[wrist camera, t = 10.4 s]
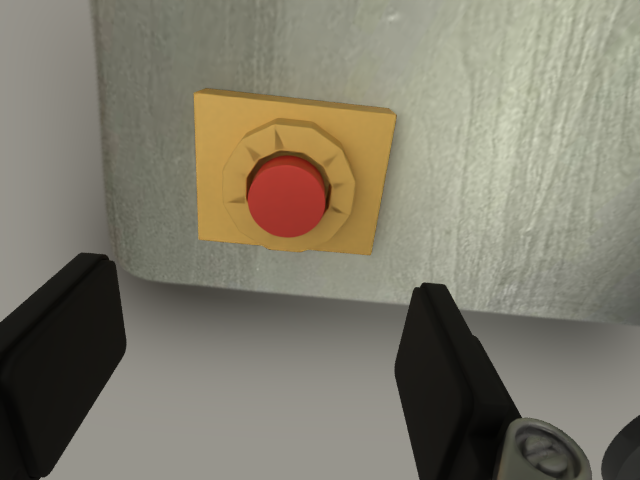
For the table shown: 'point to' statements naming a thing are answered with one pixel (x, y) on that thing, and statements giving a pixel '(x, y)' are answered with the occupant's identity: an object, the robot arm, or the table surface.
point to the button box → (294, 140)
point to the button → (287, 196)
